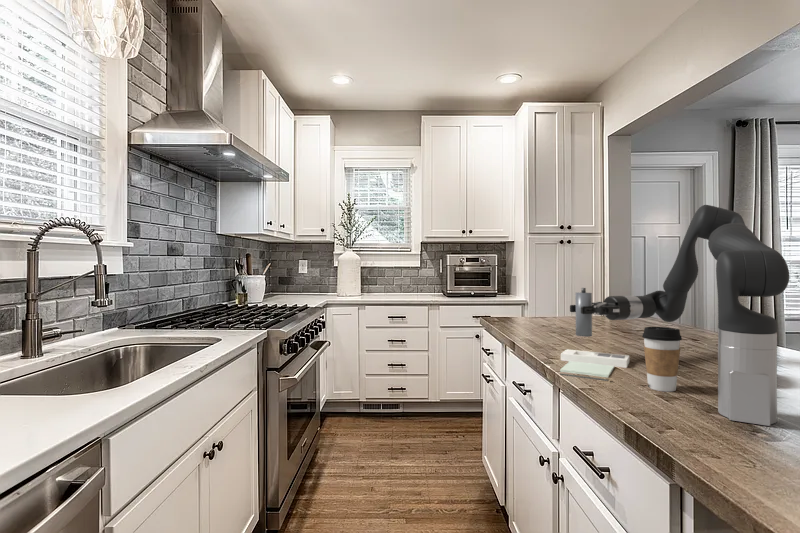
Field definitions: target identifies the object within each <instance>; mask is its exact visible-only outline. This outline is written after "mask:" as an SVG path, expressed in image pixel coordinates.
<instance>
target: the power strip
mask: <svg viewBox="0 0 800 533" xmlns="http://www.w3.org/2000/svg"><path fill="white" fill-rule="evenodd" d="M560 361H563V362H564V361H565V362H569V361H573V362H582V363H591V364H600V365H609V366H614V368H615V367H616V368H624V369H625V368H628V366H629V364H630V354H629V355H628V354H620V353H619V354H618V353H611V352H610V353H609V352H598V351H588V350H577V349H568V348H567V349H565V350H564V351H562V352H561V353H560Z"/></svg>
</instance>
